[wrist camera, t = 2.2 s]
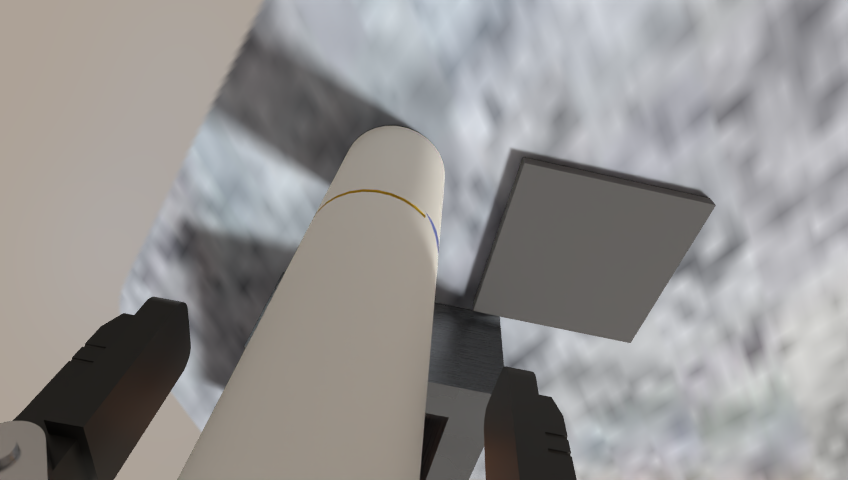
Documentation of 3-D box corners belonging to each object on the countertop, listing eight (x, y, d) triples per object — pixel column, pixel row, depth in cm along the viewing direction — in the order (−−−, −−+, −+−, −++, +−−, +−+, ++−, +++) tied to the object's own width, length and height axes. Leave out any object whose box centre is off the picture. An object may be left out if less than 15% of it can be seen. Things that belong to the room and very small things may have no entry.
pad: (523, 156, 20) (524, 163, 19) (709, 198, 20) (716, 205, 20) (473, 302, 24) (473, 310, 24) (627, 334, 24) (630, 343, 24)
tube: (323, 166, 21) (101, 543, 8) (398, 103, 19) (265, 458, 6) (390, 234, 22) (293, 635, 10) (465, 182, 20) (464, 587, 8)
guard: (283, 272, 24) (244, 345, 20) (499, 316, 24) (506, 397, 20) (276, 410, 30) (245, 489, 26) (450, 443, 30) (447, 526, 26)
